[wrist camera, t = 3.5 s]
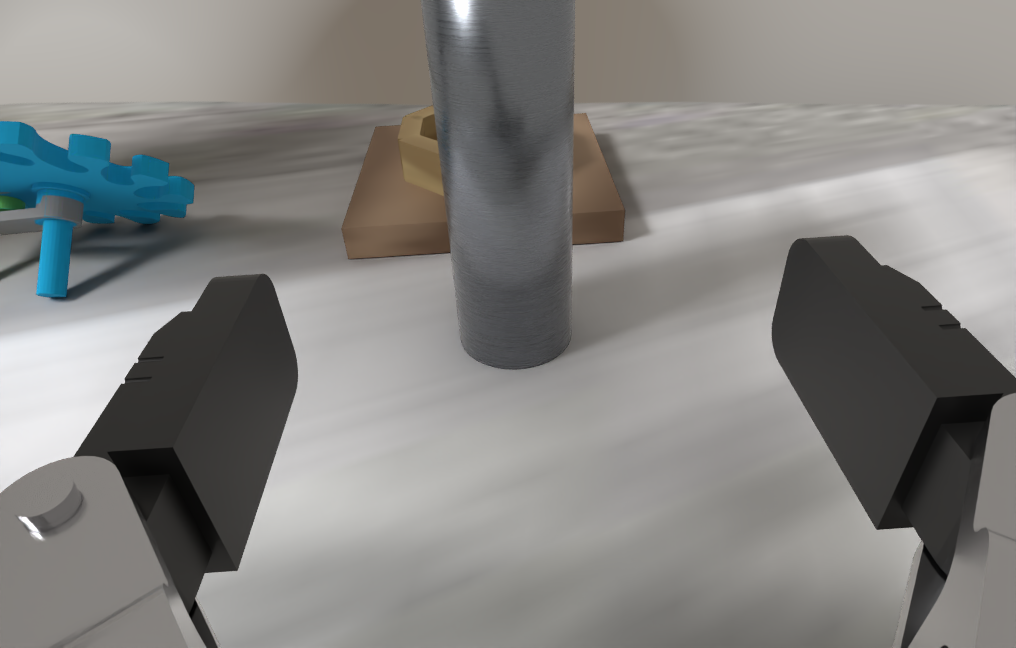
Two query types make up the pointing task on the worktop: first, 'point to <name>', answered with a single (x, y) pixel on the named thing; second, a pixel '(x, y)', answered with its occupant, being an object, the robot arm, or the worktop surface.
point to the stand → (420, 198)
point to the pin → (506, 170)
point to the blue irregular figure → (77, 193)
